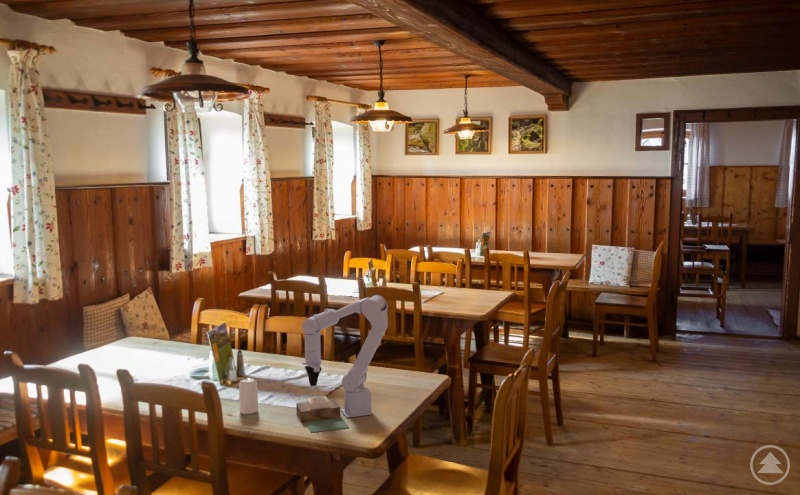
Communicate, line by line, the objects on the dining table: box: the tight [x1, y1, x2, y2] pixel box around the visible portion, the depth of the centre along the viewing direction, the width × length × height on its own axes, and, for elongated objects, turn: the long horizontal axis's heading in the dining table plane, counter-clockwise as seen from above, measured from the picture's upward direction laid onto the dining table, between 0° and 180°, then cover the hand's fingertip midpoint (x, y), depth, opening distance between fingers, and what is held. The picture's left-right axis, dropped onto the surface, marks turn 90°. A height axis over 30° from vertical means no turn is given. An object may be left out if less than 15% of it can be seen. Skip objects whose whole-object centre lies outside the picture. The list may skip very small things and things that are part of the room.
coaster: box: [306, 396, 330, 410], centre depth 238 cm, size 7×6×2 cm
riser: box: [295, 398, 341, 424], centre depth 239 cm, size 14×9×4 cm, turn 109°
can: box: [238, 376, 259, 416], centre depth 243 cm, size 6×6×12 cm
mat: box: [305, 416, 350, 434], centre depth 231 cm, size 13×10×1 cm
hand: (313, 385), depth 246 cm, fingers closed
